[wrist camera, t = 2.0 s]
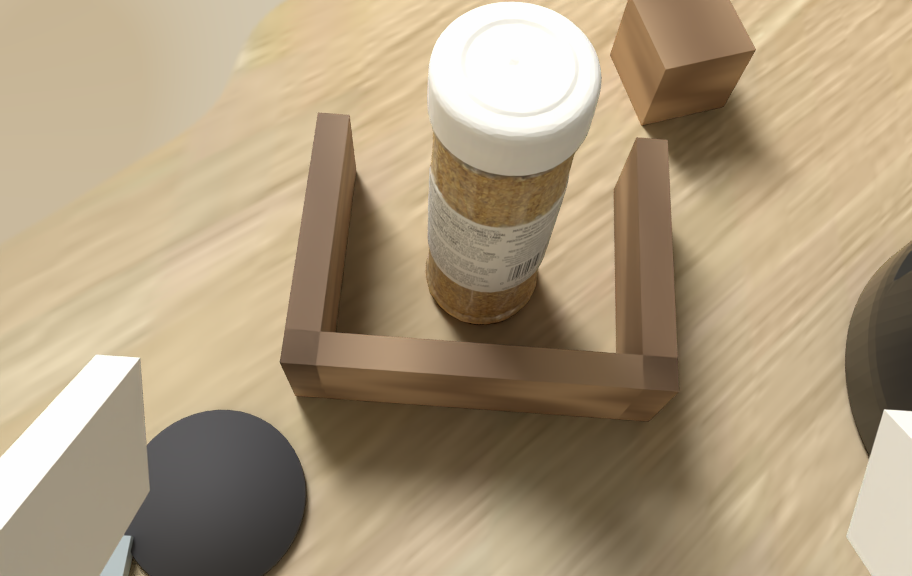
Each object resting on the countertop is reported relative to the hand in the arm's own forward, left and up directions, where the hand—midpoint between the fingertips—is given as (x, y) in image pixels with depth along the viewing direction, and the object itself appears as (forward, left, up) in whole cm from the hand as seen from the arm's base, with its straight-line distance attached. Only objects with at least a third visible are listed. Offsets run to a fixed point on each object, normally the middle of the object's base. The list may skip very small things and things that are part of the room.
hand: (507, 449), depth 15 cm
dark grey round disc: (+9, -1, -16) cm, 18 cm away
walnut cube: (-8, -21, -16) cm, 28 cm away
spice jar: (0, -11, -16) cm, 19 cm away
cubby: (0, -10, -16) cm, 19 cm away
